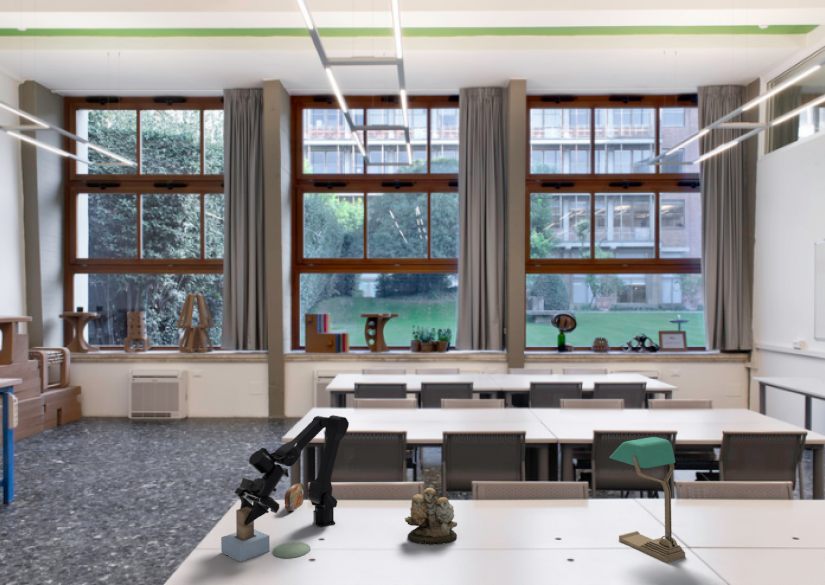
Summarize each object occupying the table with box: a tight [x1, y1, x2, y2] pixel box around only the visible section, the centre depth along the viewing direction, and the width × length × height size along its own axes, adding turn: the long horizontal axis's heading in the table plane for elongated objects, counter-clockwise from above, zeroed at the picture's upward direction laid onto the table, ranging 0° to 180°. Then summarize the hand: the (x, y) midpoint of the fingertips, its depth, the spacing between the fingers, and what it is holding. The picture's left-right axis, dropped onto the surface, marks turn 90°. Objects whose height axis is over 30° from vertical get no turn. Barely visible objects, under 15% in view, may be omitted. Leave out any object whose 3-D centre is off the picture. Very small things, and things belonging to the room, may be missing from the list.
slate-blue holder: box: [220, 528, 270, 563], centre depth 201 cm, size 11×11×5 cm
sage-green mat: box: [272, 541, 311, 559], centre depth 202 cm, size 12×12×1 cm
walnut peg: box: [235, 507, 255, 541], centre depth 201 cm, size 4×4×9 cm
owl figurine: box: [404, 487, 458, 546], centre depth 211 cm, size 18×12×17 cm, turn 95°
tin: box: [283, 482, 305, 512], centre depth 244 cm, size 15×3×8 cm, turn 168°
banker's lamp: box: [609, 436, 686, 563], centre depth 201 cm, size 16×21×35 cm
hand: (241, 522), depth 200 cm, fingers closed on walnut peg, 4 cm apart
